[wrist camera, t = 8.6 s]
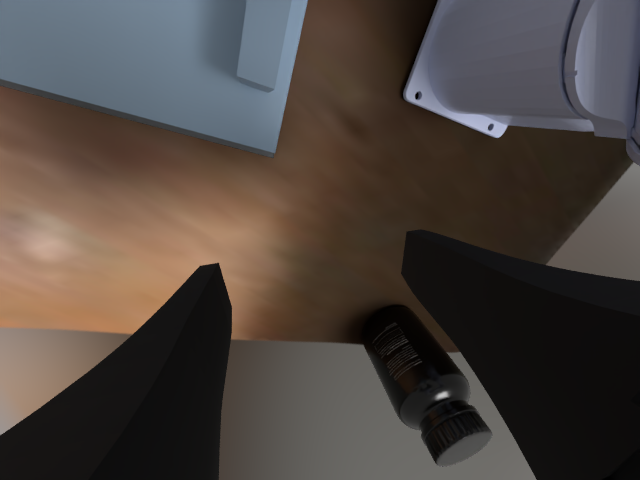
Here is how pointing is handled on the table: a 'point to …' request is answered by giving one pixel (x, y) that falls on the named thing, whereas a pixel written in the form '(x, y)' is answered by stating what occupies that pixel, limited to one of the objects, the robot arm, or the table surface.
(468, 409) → the supplement bottle
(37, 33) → the lid
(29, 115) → the table surface
